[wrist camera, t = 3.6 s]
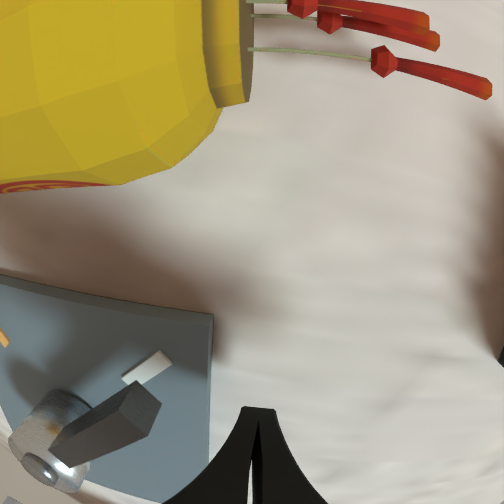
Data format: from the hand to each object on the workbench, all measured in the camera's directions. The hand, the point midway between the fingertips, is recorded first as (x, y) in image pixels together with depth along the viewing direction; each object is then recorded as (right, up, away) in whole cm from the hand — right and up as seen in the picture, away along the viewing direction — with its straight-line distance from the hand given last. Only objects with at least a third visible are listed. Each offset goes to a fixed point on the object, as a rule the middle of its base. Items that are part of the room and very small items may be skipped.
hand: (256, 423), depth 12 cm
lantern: (-7, +15, +1) cm, 17 cm away
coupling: (-9, -2, +4) cm, 10 cm away
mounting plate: (-12, -4, +6) cm, 14 cm away
